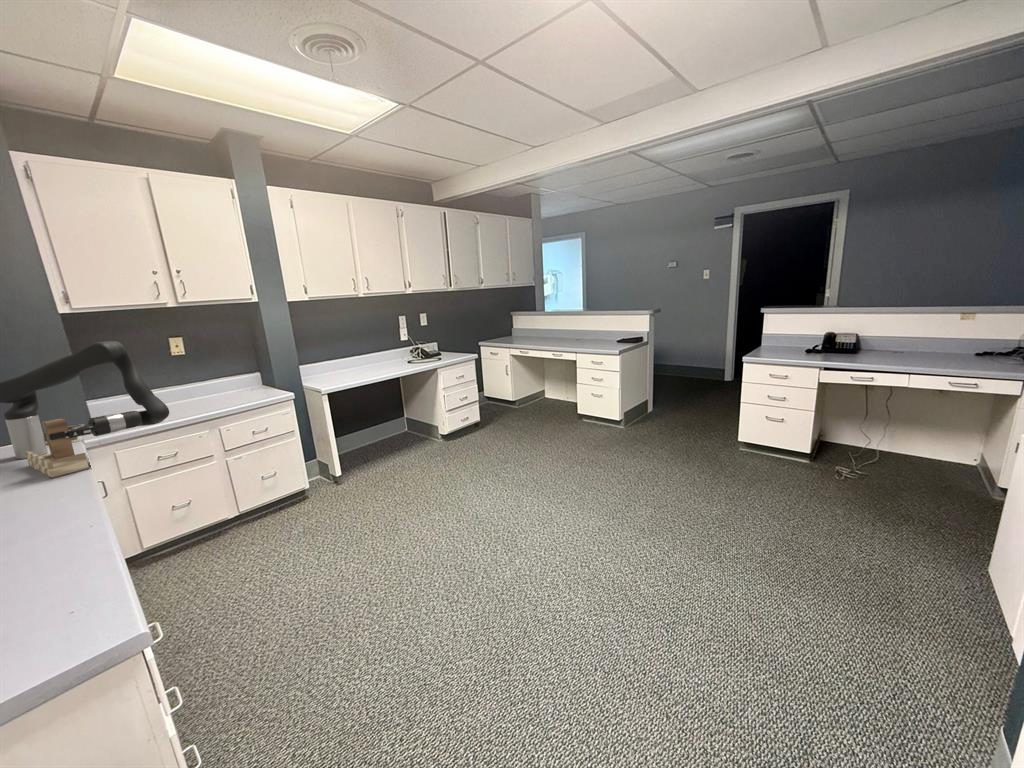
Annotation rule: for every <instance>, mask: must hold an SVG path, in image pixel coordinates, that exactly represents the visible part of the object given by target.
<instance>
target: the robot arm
mask: <svg viewBox="0 0 1024 768" xmlns="http://www.w3.org/2000/svg"><path fill="white" fill-rule="evenodd" d="M112 363H113V365H115V366H116V368H118V370H119V371H120V373H121V376H122V381H123V385H124V389H125V391H126V393H128V395H129V396H130V398H131V399H132V400H133V401H134V403H135V404H136V405H138V406H142V407H143V408H144V409H145V410H141V411H138V410H130V411H125V412H119V413H110V414H106V415H105V414H104V415H100V416H99V415H98V416H93V417H90V418H89V419H88V423H87V424H84V423H80V424H74V425H69V426H67V427H68V431H64V433H63V432H59V433H54V434H50V435H49V438H50V440H56V439H60V438H73V437H77V438H79V437H81V436H83V437H84V436H88V435H90V436H91V435H92V436H94V437H99V436H104V435H109V434H113V433H116V432H117V433H118V432H120V431H124V430H129V429H133V428H137V427H144V426H145V427H146V426H154V425H156V424H160V423H162V422H164V421H165V419H167V418H168V417H169V415H170V410H169V407H168V405H167V404H166V403H165V402H163V401H162V400H161V399H160V398H159V397H158V396H156V395H155V393H154V392H153V391H152V390H151V388H150V387H149V386H148V385H147V383H146V382H145V381H144V379H143V378H142V376H141V374H140V373H139V371H138V370H137V367H136V365H135V363H134V362H133V360H132V358H131V356H130V354H129V351H128V349H126V348H125V346H124V345H123V344H122V343H121V342H119V341H116V340H108V341H106V340H105V341H97V342H96V341H95V342H94V343H91V344H90V345H87V346H86V347H84V348H82V349H80V350H78V351H77V352H75V353H73V354H70V355H66V356H64V357H61V358H58V359H56V360H53V361H50V362H48V363H46V364H44V365H42V366H39V367H37V368H35V369H33V370H31V371H28V372H27V373H24V374H22V375H19V376H17V377H13V378H10V379H7V380H4V381H0V403H1V404H12V406H11V408H9V410H6V412H4V413H3V416H4V420H5V423H6V427H7V431H8V434H9V438H10V442H11V444H12V445H11V446H12V449H13V453H14V456H15V459H17V460H23V459H27V456H26V451H31V452H33V453H35V454H37V455H39V456H42V455H47V454H48V448H47V445H46V443H45V439H44V436H45V438H46V434H45V432H43V429H42V424H41V421H40V417H39V412H38V410H39V401H38V395H37V391H39V390H40V391H41V390H44V389H48V388H51V387H55V386H59V385H62V384H64V383H66V382H69V381H72V380H74V379H76V378H77V377H78V376H80V374H81V373H83V371H85V370H88V369H91V368H94V367H97V366H100V365H106V364H112Z"/></svg>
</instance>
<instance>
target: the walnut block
mask: <svg viewBox="0 0 1024 768" xmlns="http://www.w3.org/2000/svg"><path fill="white" fill-rule="evenodd" d="M41 423H42V427H43V430H44V433H45V434H46V438H47V442H48V445H47V446H48V447H49V454H51V456H52V458H54V459H60V458H64V457H68V456H73V455H76V454H75V450H74V447H73V443H72V442H71V439H70V438H60V439H56V440H50V438H49V435H50V434H54V433H59V432H63V433H64V431H68V427H69V426H68V424H67V421H66V419H65V418H57V419H51V420H45V421H42V422H41Z"/></svg>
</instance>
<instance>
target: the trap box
mask: <svg viewBox="0 0 1024 768" xmlns="http://www.w3.org/2000/svg"><path fill="white" fill-rule="evenodd" d="M26 456H27V458H26V459H27V463H28V465H29V467H30V468H32V469H34V470H36V471H38V472H40V473H42V474H44V475H46V476H48V477H49V478H50V479H56V478H60V477H63V476H67V475H71V474H75V473H78V472H82V471H85V470H90V467H89V464H88V458H87V455H86V452H82V453H78V454H75V455H73V456H68V457H64V458H60V459H54V458H52V456H51V453H46V454H43V455H40V456H39V455H37V454H35V453H33V452H31V451H26ZM59 476H60V477H59Z"/></svg>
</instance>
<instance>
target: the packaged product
mask: <svg viewBox="0 0 1024 768" xmlns="http://www.w3.org/2000/svg"><path fill="white" fill-rule="evenodd" d="M44 439H45V443H46V446H49V445H48V442H47V438H45V436H44ZM70 439H71V442H72V444H74V443H79V442H83V441H84V438H81V437H73V438H70Z"/></svg>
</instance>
